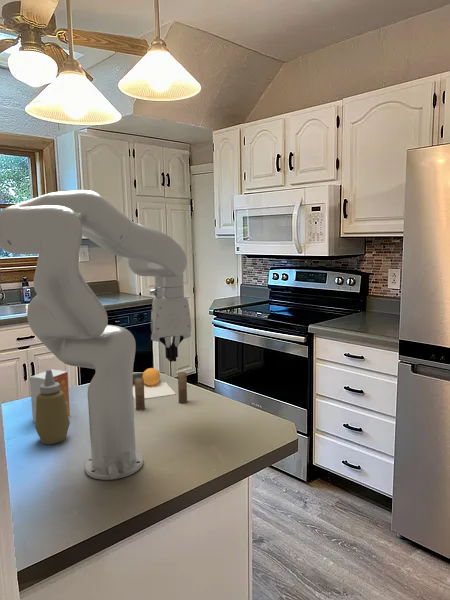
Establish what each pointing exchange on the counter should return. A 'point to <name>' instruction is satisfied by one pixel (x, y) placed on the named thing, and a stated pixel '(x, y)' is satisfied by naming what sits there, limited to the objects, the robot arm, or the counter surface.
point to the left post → (139, 394)
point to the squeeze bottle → (51, 412)
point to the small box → (40, 379)
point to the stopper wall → (137, 376)
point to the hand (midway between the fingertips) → (171, 360)
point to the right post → (182, 387)
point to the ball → (151, 376)
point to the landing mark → (156, 391)
